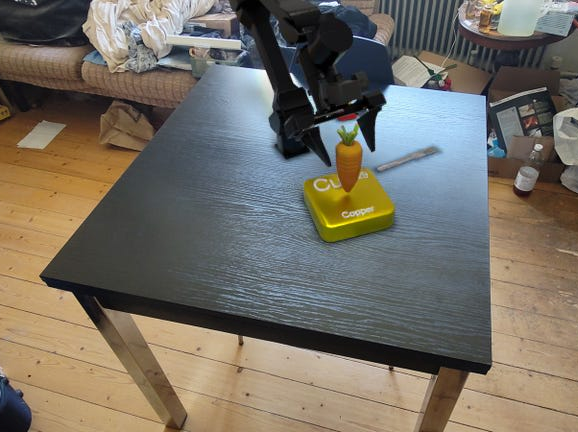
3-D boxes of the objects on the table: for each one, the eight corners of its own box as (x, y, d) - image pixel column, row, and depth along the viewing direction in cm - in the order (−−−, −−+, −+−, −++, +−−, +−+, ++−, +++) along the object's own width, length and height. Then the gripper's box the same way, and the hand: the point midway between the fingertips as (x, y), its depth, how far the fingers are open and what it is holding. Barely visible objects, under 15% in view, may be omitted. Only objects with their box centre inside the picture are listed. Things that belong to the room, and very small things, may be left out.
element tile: (323, 245, 82) (323, 227, 79) (301, 195, 93) (300, 178, 89) (396, 227, 86) (399, 208, 83) (367, 181, 96) (368, 163, 93)
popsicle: (338, 121, 114) (338, 115, 113) (320, 95, 124) (320, 89, 123) (358, 118, 116) (358, 112, 114) (339, 92, 126) (339, 86, 125)
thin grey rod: (380, 172, 99) (380, 171, 98) (375, 168, 100) (375, 167, 100) (437, 151, 105) (438, 150, 105) (432, 147, 106) (433, 146, 106)
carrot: (333, 199, 85) (333, 132, 74) (336, 183, 88) (337, 117, 78) (359, 201, 84) (362, 134, 74) (361, 185, 88) (365, 119, 77)
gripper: (286, 70, 68) (322, 165, 69) (385, 46, 75) (417, 133, 76) (269, 95, 78) (301, 178, 79) (358, 72, 85) (386, 148, 86)
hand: (352, 159), depth 79 cm, fingers open, 9 cm apart
